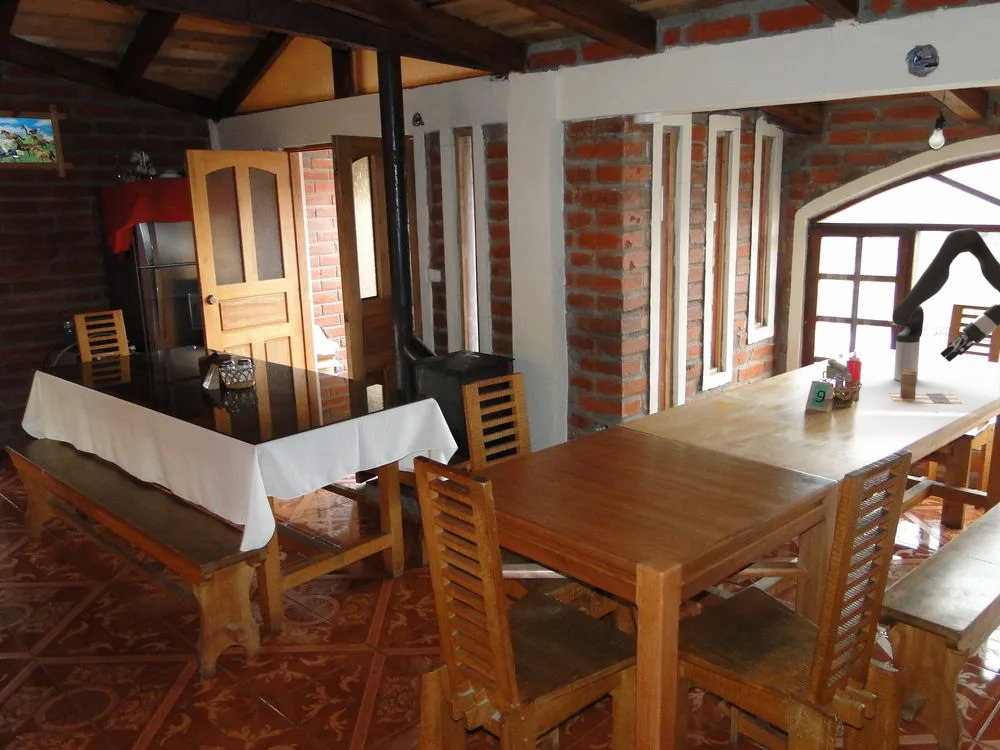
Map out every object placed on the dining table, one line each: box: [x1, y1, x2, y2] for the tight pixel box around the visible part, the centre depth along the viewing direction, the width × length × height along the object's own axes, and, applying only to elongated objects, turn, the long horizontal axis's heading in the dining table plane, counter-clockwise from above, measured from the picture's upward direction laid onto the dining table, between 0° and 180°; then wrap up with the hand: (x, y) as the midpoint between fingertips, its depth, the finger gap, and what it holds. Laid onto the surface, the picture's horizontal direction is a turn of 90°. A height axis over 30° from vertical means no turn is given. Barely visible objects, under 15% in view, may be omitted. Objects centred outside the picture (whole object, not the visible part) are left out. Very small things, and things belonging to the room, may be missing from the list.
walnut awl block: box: [899, 370, 917, 399], centre depth 325 cm, size 5×5×11 cm
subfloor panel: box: [888, 392, 964, 405], centre depth 324 cm, size 16×24×2 cm, turn 73°
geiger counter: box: [822, 358, 853, 382], centre depth 342 cm, size 14×6×25 cm
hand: (944, 357), depth 319 cm, fingers open, 8 cm apart
